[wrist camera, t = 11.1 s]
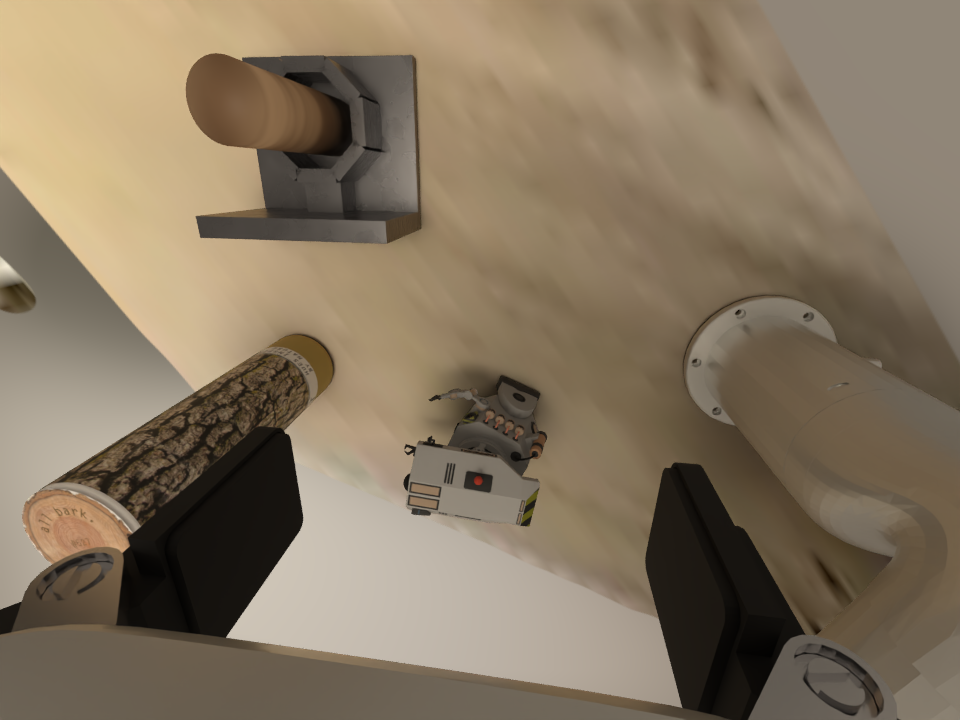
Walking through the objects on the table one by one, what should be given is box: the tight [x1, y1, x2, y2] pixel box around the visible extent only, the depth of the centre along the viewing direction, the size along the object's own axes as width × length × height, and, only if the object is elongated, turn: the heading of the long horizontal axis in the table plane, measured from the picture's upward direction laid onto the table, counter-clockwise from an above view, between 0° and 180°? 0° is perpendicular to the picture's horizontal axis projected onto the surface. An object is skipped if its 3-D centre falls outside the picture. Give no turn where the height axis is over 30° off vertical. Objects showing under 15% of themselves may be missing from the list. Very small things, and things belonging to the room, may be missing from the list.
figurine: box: [404, 376, 547, 526], centre depth 40 cm, size 9×12×15 cm
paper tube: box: [22, 335, 333, 564], centre depth 36 cm, size 7×7×25 cm
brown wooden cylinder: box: [186, 53, 353, 156], centre depth 31 cm, size 4×4×14 cm
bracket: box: [196, 55, 421, 244], centre depth 34 cm, size 13×14×10 cm
